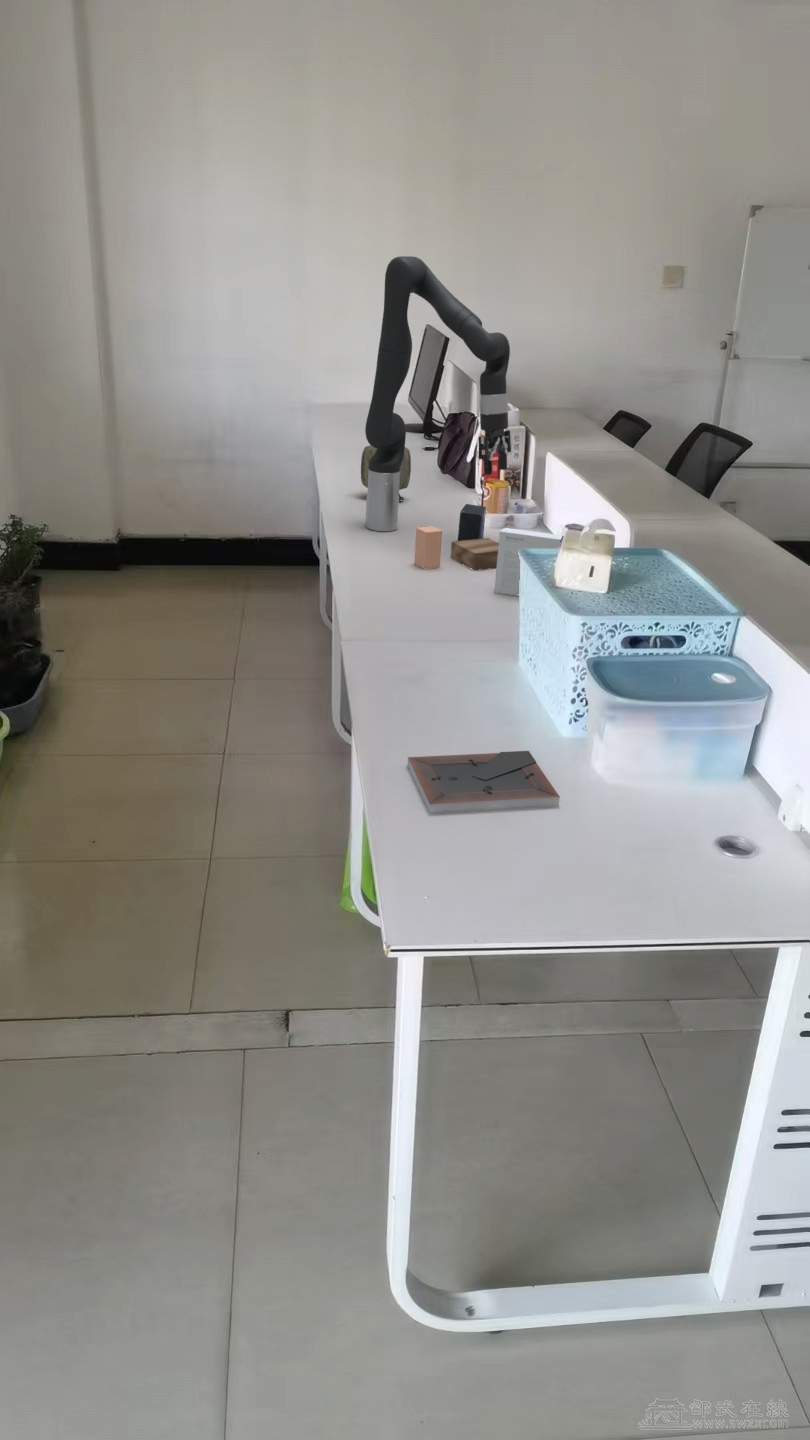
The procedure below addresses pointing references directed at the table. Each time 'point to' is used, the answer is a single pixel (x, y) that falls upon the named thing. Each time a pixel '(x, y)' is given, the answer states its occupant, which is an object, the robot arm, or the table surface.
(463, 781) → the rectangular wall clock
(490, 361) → the robot arm
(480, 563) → the walnut block
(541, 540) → the skincare box
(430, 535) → the terracotta pillar
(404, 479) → the tabletop clock
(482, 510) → the small box
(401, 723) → the table surface
